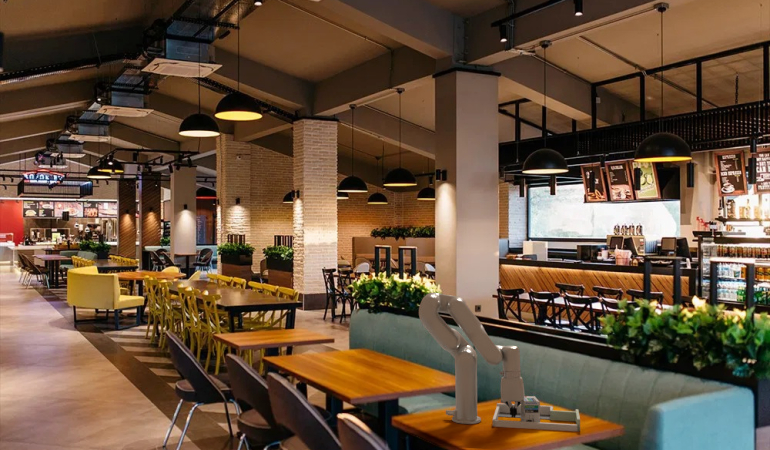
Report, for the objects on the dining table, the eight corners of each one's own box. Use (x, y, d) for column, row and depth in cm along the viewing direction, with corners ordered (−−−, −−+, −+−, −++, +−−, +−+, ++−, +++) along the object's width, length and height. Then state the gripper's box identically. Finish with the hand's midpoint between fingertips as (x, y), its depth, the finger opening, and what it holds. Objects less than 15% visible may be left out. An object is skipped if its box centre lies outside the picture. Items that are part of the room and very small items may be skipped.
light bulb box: (540, 426, 291) (540, 401, 291) (524, 426, 291) (524, 401, 291) (535, 420, 302) (535, 395, 302) (520, 420, 302) (520, 395, 302)
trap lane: (492, 426, 292) (492, 414, 292) (497, 411, 316) (497, 401, 316) (580, 431, 283) (580, 419, 283) (577, 416, 308) (577, 405, 308)
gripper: (493, 376, 297) (495, 418, 296) (528, 376, 293) (530, 419, 293) (495, 372, 304) (497, 414, 304) (529, 372, 301) (531, 414, 300)
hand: (513, 416), depth 298 cm, fingers closed
